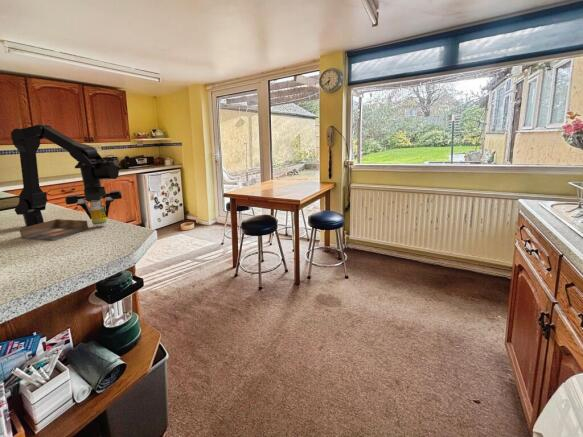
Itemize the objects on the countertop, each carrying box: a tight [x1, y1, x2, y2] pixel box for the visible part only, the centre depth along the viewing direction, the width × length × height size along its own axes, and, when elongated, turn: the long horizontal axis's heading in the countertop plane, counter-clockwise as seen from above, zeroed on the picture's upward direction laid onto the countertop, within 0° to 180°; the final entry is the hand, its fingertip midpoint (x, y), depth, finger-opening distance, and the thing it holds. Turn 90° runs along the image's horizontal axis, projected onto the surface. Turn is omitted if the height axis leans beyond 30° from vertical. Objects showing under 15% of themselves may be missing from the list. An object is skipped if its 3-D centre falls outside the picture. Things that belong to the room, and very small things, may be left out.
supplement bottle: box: [89, 199, 109, 226], centre depth 124 cm, size 5×5×10 cm
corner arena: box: [19, 218, 89, 242], centre depth 118 cm, size 16×14×4 cm
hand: (99, 217), depth 124 cm, fingers closed on supplement bottle, 5 cm apart
